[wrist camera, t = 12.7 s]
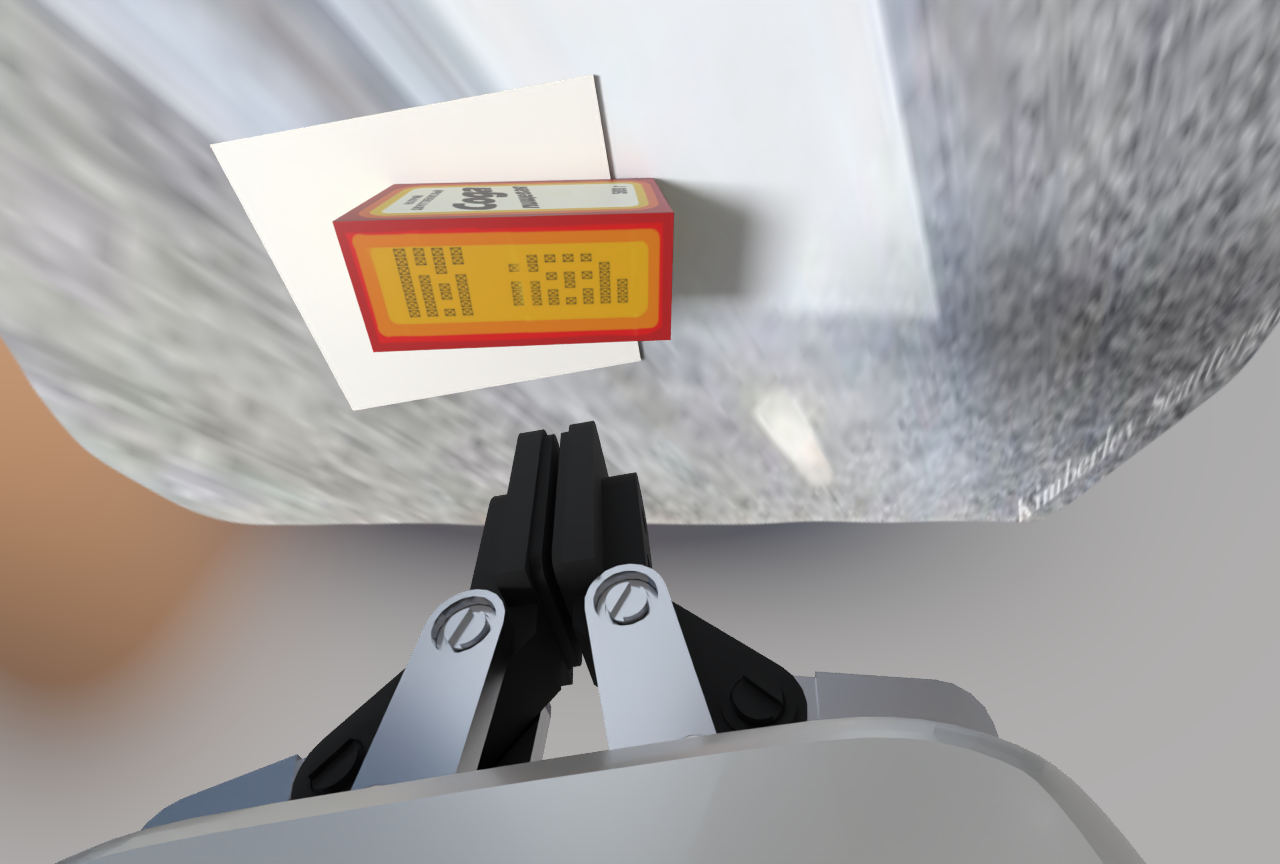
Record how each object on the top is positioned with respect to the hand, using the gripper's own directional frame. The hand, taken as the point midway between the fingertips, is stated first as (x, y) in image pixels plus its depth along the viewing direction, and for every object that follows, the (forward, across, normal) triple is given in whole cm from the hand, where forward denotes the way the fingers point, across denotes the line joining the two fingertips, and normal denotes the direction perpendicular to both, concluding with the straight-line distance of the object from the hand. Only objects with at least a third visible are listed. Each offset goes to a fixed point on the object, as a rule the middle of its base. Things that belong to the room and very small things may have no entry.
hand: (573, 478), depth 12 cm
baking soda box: (+22, -4, +2) cm, 22 cm away
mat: (+27, +9, +2) cm, 28 cm away
